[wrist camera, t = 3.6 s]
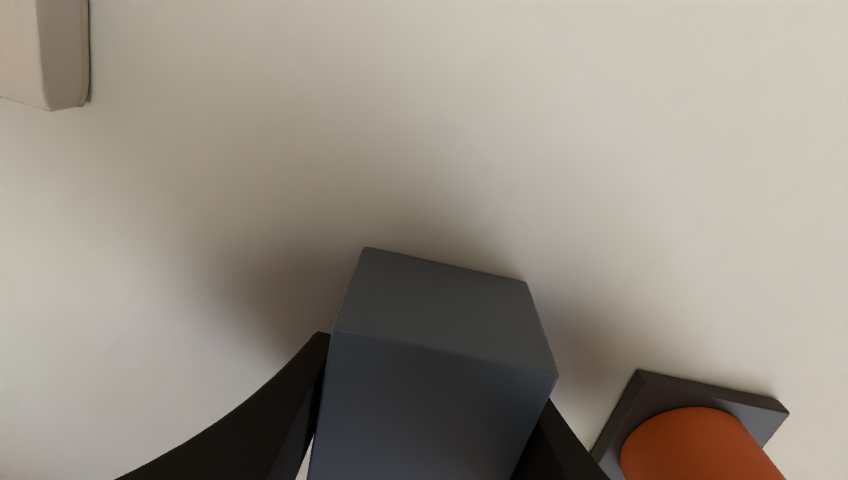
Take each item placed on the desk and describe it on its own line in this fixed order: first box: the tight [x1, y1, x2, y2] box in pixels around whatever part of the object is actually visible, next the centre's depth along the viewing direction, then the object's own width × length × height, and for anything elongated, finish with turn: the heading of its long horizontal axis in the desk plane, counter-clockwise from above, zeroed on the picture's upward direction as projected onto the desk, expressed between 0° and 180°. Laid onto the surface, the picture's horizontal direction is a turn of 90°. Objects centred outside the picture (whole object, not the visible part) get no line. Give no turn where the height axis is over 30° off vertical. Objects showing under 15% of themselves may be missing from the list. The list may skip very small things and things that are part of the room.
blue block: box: [306, 247, 559, 480], centre depth 12 cm, size 5×6×4 cm
